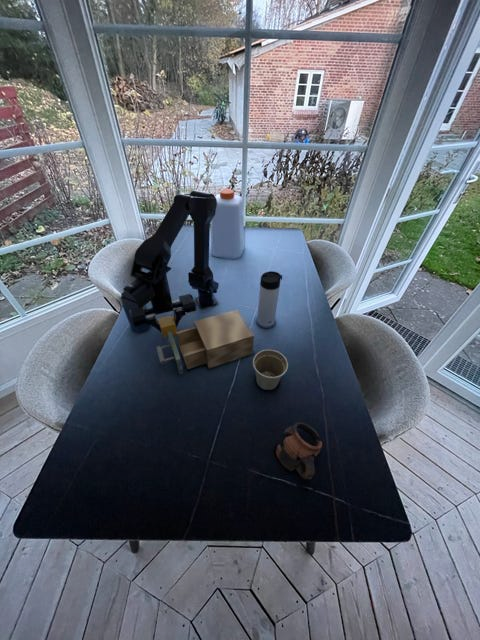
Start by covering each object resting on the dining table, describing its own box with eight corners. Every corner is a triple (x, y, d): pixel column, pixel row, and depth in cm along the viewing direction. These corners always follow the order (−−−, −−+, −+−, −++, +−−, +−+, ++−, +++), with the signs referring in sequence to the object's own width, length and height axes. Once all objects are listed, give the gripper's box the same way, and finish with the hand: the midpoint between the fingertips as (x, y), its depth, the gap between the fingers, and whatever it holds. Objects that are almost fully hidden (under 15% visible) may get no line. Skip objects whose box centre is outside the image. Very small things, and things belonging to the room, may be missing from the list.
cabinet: (208, 368, 79) (206, 350, 73) (196, 339, 88) (193, 321, 82) (252, 354, 84) (254, 335, 78) (237, 328, 92) (237, 309, 86)
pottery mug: (268, 440, 65) (284, 416, 62) (299, 444, 68) (315, 421, 65) (285, 489, 55) (306, 464, 52) (321, 491, 58) (341, 467, 55)
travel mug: (274, 329, 92) (281, 282, 78) (255, 326, 93) (259, 279, 79) (276, 317, 96) (283, 271, 82) (258, 315, 97) (262, 268, 83)
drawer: (165, 379, 75) (160, 365, 71) (157, 351, 83) (152, 336, 78) (223, 360, 81) (222, 345, 76) (211, 335, 88) (209, 320, 84)
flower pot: (286, 372, 79) (291, 354, 73) (279, 399, 72) (284, 382, 66) (256, 364, 81) (258, 345, 75) (247, 389, 74) (248, 371, 69)
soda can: (156, 323, 93) (148, 296, 85) (142, 335, 89) (132, 308, 80) (141, 316, 95) (132, 289, 87) (126, 328, 91) (116, 301, 83)
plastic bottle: (217, 242, 137) (214, 184, 118) (245, 245, 135) (247, 187, 116) (208, 257, 126) (204, 195, 107) (239, 261, 124) (241, 199, 105)
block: (160, 328, 86) (157, 318, 83) (174, 324, 87) (172, 314, 84) (163, 338, 83) (160, 327, 80) (177, 334, 84) (175, 324, 81)
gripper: (184, 268, 82) (189, 306, 93) (120, 281, 76) (134, 320, 87) (194, 288, 75) (199, 327, 85) (125, 304, 69) (139, 344, 80)
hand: (168, 329), depth 85 cm, fingers closed on block, 4 cm apart
